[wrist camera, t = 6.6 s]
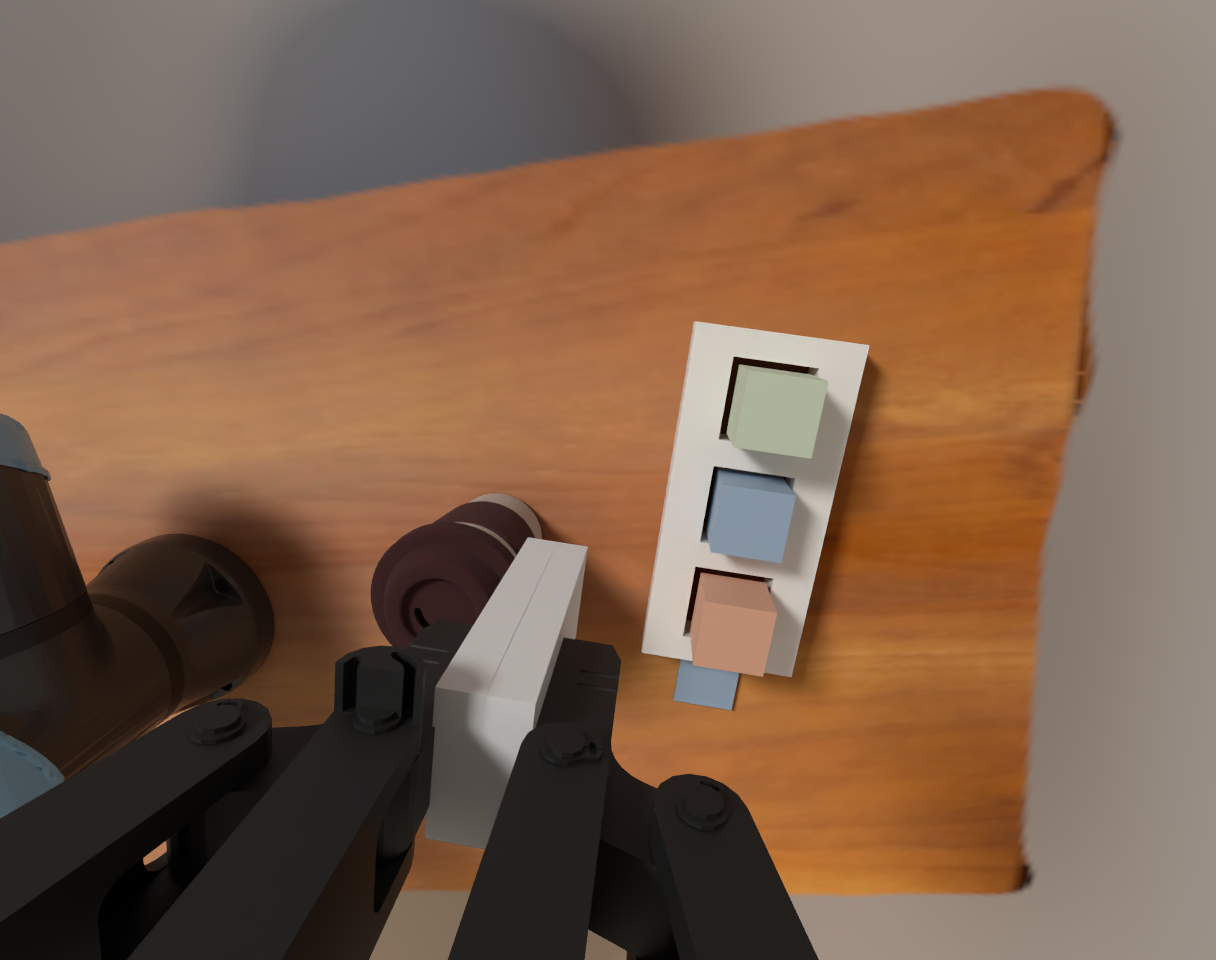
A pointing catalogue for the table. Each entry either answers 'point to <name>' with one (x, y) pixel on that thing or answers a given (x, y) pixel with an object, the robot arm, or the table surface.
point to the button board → (708, 448)
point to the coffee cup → (449, 566)
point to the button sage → (776, 411)
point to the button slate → (749, 515)
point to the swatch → (705, 686)
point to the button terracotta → (732, 624)
